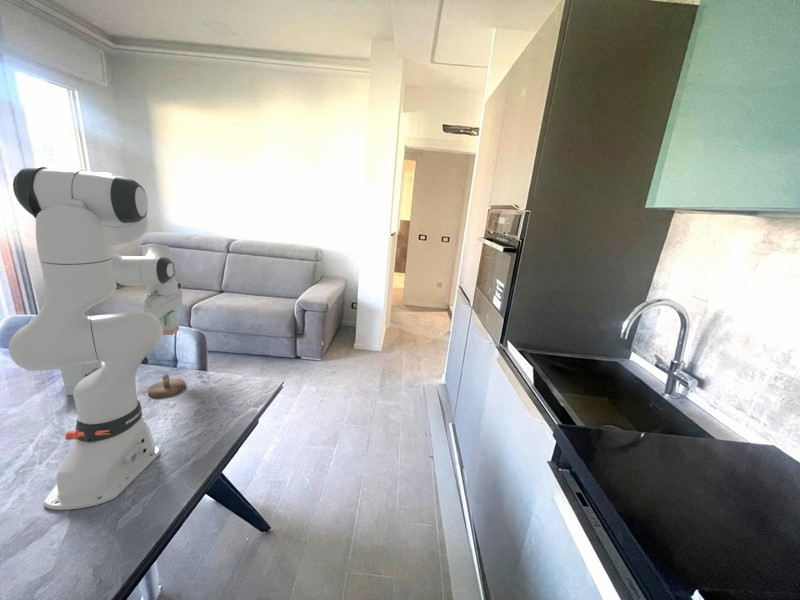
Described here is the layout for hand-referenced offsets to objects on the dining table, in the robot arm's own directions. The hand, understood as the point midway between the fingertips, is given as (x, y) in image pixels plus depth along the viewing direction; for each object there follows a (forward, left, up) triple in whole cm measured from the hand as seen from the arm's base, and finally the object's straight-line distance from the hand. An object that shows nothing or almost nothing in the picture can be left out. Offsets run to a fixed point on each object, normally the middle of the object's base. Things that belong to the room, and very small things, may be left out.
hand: (167, 323), depth 120 cm
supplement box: (-10, +23, -21) cm, 33 cm away
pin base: (-12, -3, -21) cm, 24 cm away
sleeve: (0, 0, -4) cm, 4 cm away
